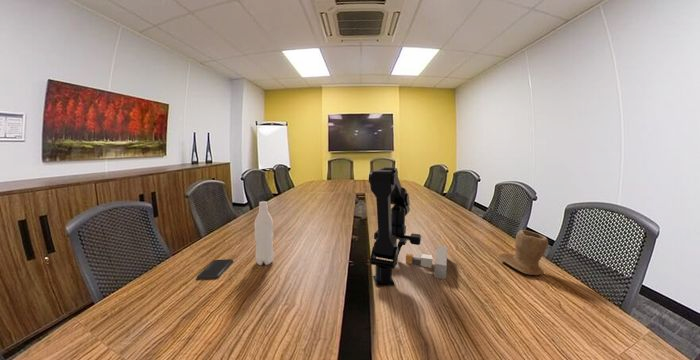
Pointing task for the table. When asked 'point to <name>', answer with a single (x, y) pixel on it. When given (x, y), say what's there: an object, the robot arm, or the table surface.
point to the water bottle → (264, 235)
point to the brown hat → (527, 252)
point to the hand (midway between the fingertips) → (396, 256)
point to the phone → (215, 269)
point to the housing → (440, 262)
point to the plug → (420, 260)
